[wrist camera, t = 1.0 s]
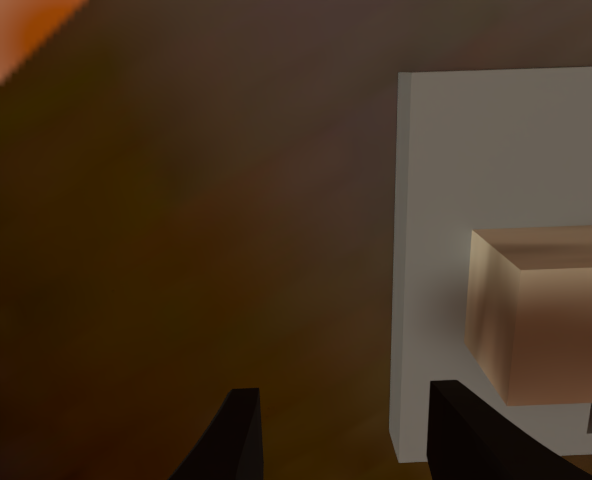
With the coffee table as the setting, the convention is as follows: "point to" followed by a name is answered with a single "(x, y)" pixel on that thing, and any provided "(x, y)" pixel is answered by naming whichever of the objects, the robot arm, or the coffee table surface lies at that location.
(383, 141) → the coffee table surface
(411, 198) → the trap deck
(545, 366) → the maple block
